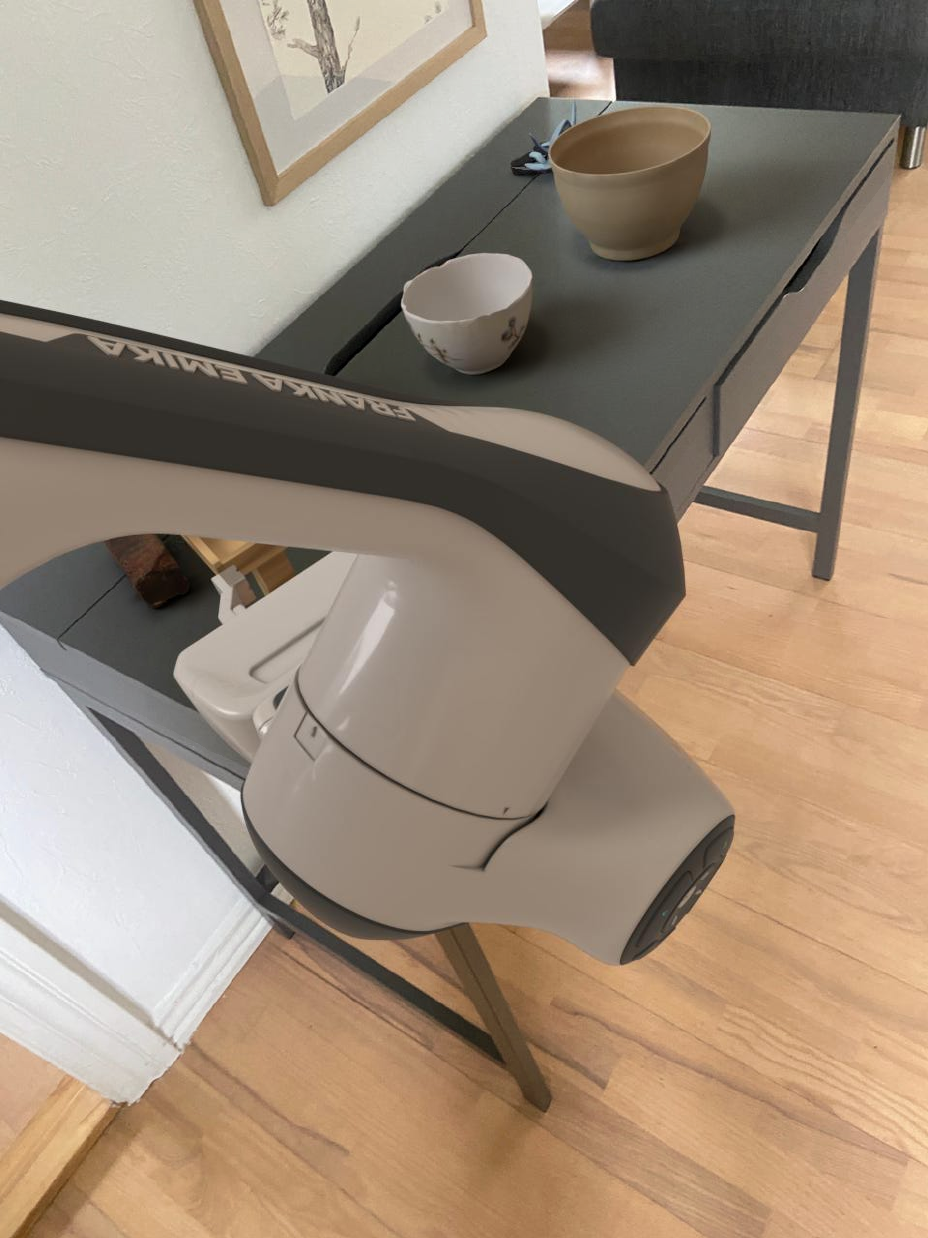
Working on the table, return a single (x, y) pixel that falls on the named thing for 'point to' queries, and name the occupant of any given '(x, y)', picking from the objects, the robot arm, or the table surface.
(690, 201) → the planter bowl
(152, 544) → the brick
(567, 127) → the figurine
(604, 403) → the table surface
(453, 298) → the teacup
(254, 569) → the wooden pedestal tray
